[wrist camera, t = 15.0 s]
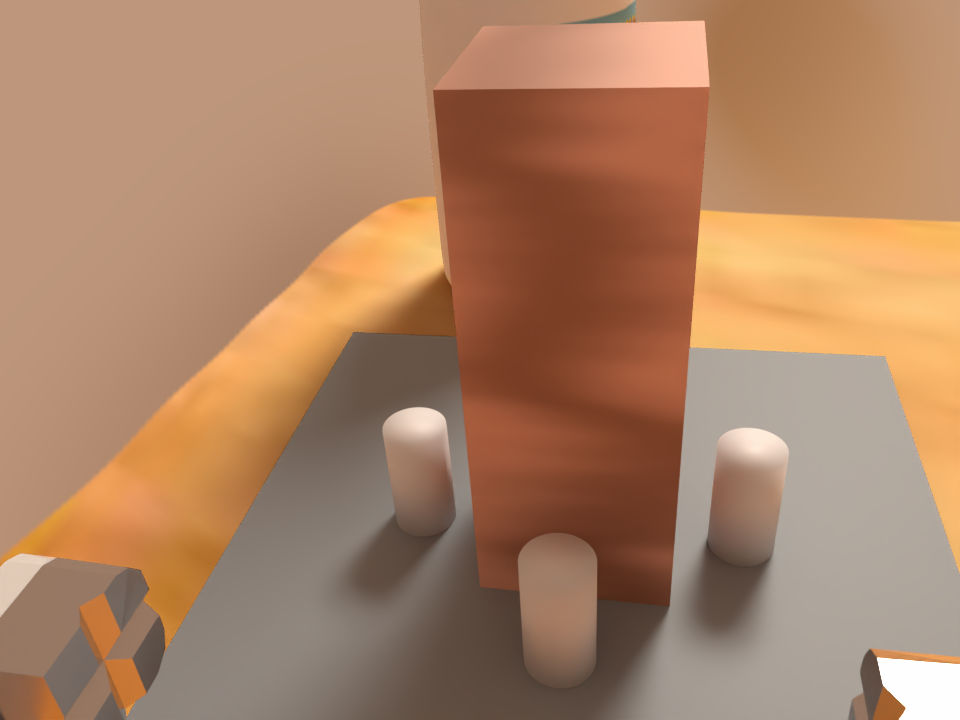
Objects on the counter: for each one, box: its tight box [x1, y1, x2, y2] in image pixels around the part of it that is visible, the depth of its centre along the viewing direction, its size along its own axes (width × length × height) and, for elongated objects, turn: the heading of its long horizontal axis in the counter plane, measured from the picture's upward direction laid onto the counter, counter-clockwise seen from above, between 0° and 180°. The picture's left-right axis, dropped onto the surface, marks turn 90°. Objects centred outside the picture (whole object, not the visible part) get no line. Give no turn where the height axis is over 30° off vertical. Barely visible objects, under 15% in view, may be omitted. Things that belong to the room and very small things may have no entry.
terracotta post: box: [433, 21, 709, 606], centre depth 19 cm, size 4×4×12 cm
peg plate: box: [126, 332, 960, 720], centre depth 22 cm, size 18×18×4 cm
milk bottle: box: [419, 0, 636, 285], centre depth 31 cm, size 8×8×20 cm
